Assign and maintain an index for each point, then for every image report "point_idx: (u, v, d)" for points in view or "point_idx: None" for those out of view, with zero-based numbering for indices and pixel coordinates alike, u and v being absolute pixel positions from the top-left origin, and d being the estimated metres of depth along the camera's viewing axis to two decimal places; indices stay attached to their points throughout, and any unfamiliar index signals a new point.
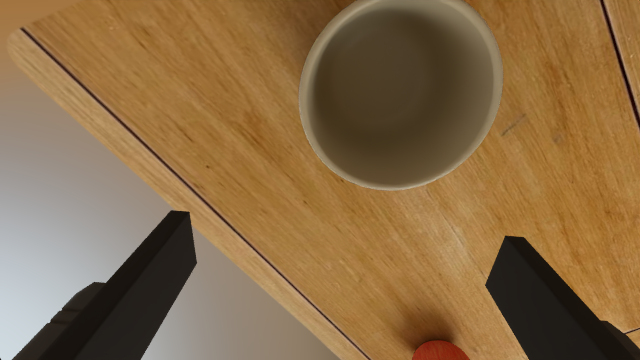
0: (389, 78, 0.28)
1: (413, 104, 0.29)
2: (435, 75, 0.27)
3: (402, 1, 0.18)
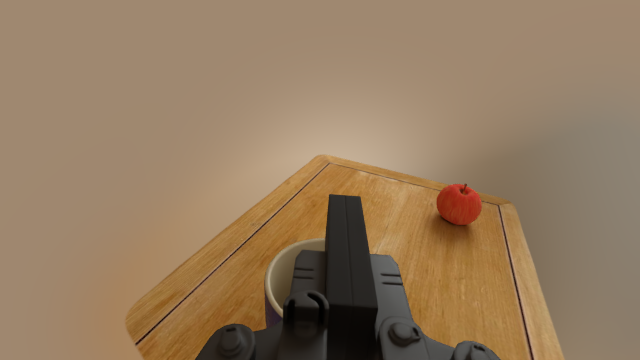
0: None
1: None
2: None
3: None
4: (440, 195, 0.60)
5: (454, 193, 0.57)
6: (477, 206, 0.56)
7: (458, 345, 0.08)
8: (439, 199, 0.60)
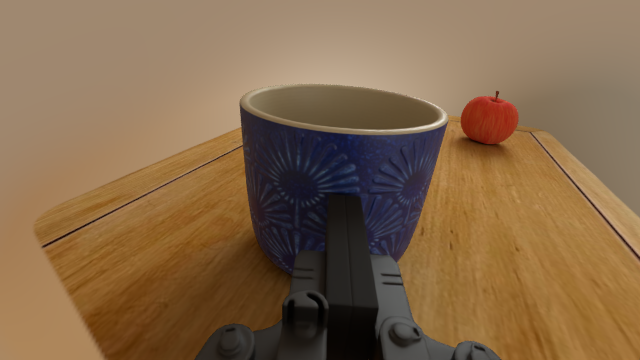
0: None
1: None
2: None
3: None
4: (466, 109, 0.49)
5: (484, 102, 0.46)
6: (514, 114, 0.45)
7: (459, 345, 0.08)
8: (465, 113, 0.49)
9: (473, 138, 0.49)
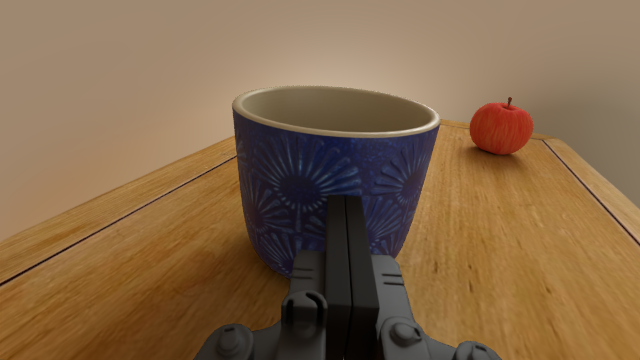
0: None
1: None
2: None
3: None
4: (476, 116, 0.45)
5: (496, 109, 0.43)
6: (529, 123, 0.42)
7: (460, 346, 0.08)
8: (475, 121, 0.45)
9: (483, 148, 0.45)
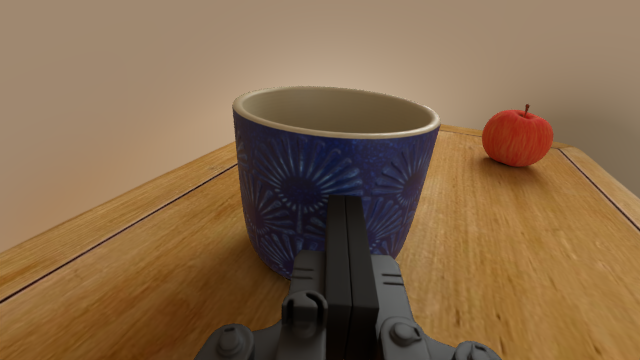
0: None
1: None
2: None
3: None
4: (489, 125, 0.41)
5: (512, 118, 0.39)
6: (549, 133, 0.38)
7: (459, 345, 0.08)
8: (488, 130, 0.41)
9: (497, 159, 0.41)
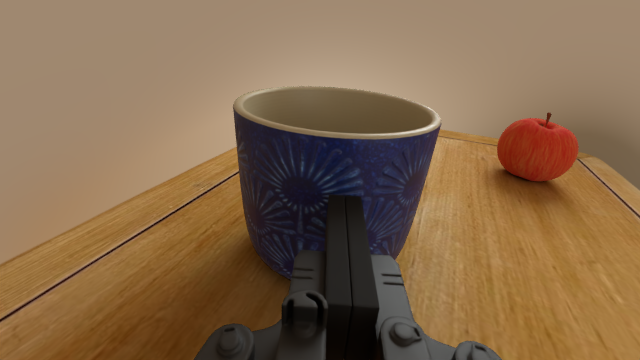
0: None
1: None
2: None
3: None
4: (506, 135, 0.37)
5: (533, 128, 0.35)
6: (574, 145, 0.34)
7: (460, 346, 0.08)
8: (505, 141, 0.37)
9: (515, 173, 0.38)
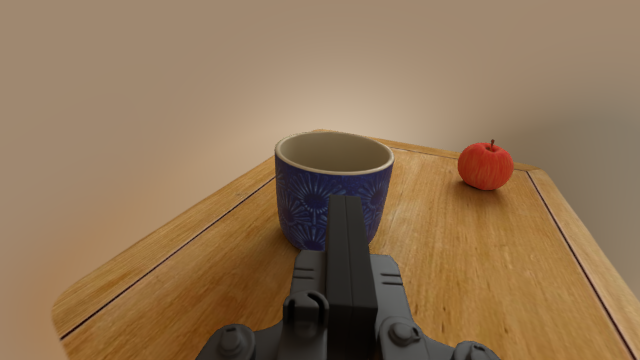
0: None
1: None
2: None
3: None
4: (462, 155, 0.50)
5: (480, 151, 0.48)
6: (509, 164, 0.47)
7: (458, 345, 0.08)
8: (461, 160, 0.50)
9: (469, 184, 0.50)
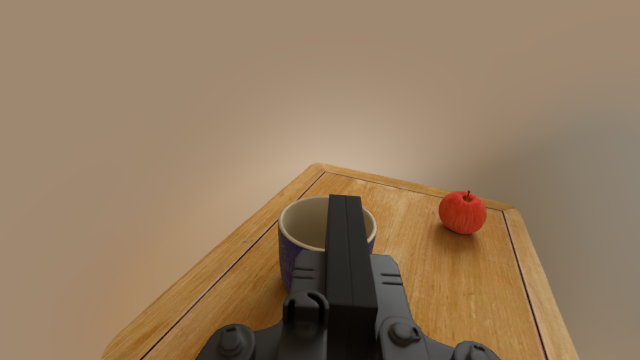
0: None
1: None
2: None
3: None
4: (442, 203, 0.57)
5: (457, 201, 0.54)
6: (482, 214, 0.53)
7: (458, 345, 0.08)
8: (441, 207, 0.57)
9: None
